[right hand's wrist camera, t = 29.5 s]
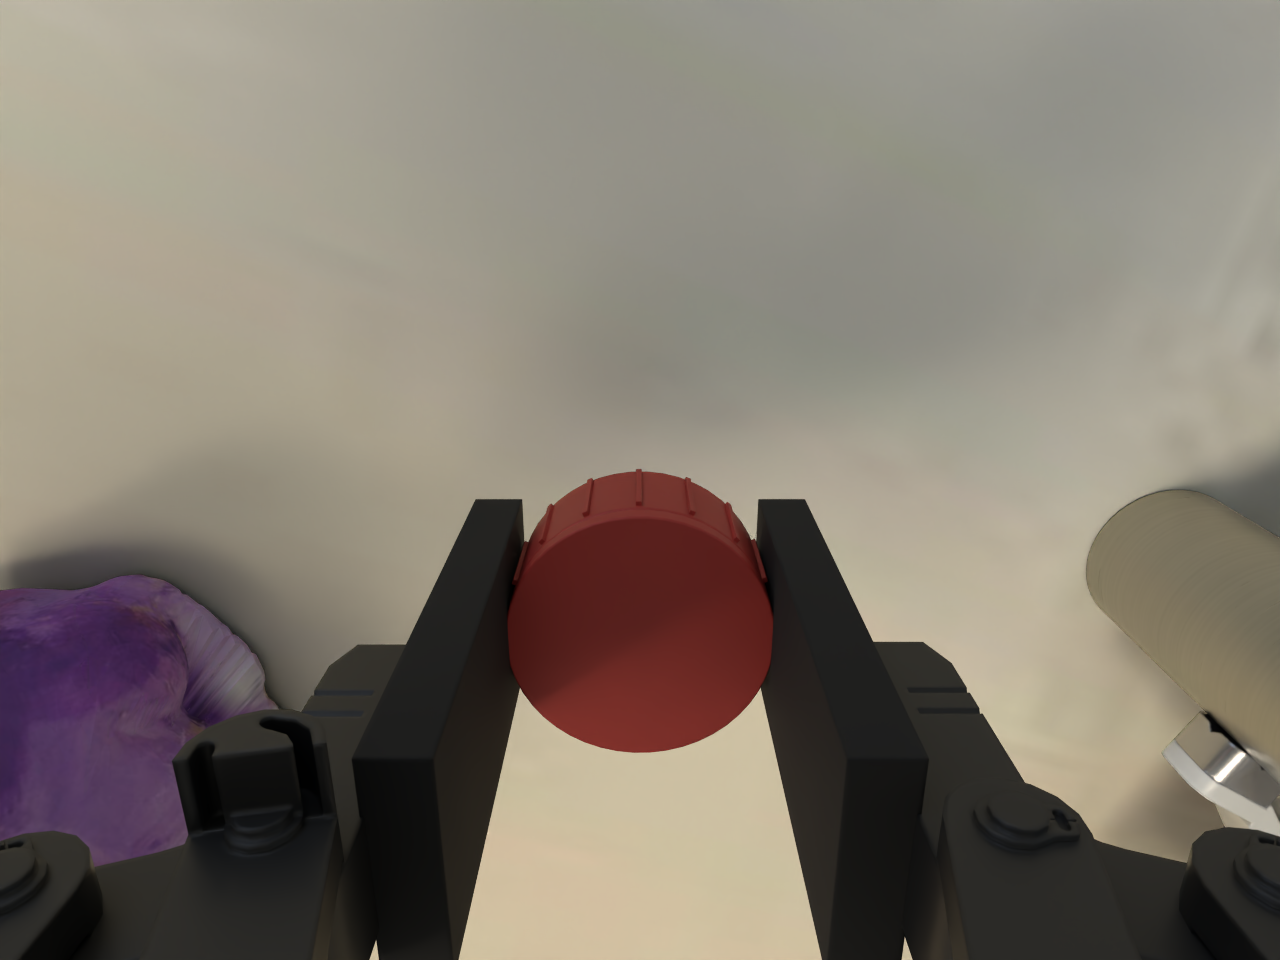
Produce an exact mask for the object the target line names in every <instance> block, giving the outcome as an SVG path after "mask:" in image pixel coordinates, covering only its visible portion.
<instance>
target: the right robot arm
mask: <svg viewBox="0 0 1280 960" xmlns="http://www.w3.org/2000/svg"><path fill="white" fill-rule="evenodd" d="M756 543H757V546H758V550H759V553H760V556H761V560H762V563H763V566H764V570H765V573H766V576H767V580H768V582H765V586H766V589H767V593H768V596H769V600H770V603H771V607H772V611H773V634H772V651H771V664H770V667H769V670H768V673H767V676H766V678H765V680H764V682H763V684H762V685H761V691H762V696H763V700H764V704H765V709H766V713H767V718H768V722H769V727H770V731H771V735H772V740H773V744H774V749H775V753H776V758H777V762H778V766H779V771H780V775H781V780H782V784H783V789H784V793H785V797H786V802H787V806H788V811H789V815H790V819H791V824H792V828H793V833H794V837H795V842H796V846H797V850H798V855H799V859H800V864H801V868H802V873H803V877H804V881H805V886H806V890H807V895H808V899H809V904H810V908H811V912H812V917H813V921H814V926H815V930H816V935H817V939H818V943H819V948H820V952H821V957H822V960H901V959H902V952H903V945H904V938H906V941H907V944H908V947H909V950H910V953H911V956H912V959H913V960H1280V836H1276V835H1273V834H1270V833H1267V832H1263V831H1260V830H1254V829H1244V828H1234V827H1225V828H1220V829H1216V830H1211V831H1206V832H1204V833H1203V834H1202V835H1201V836H1200V837H1199V838H1198V839H1197V840H1196V841H1195V842H1194V843H1193V844H1192V848H1191V851H1190V855H1189V859H1188V862H1187V863H1183V862H1179V861H1175V860H1170V859H1166V858H1161V857H1157V856H1153V855H1148V854H1144V853H1139V852H1135V851H1131V850H1126V849H1123V848H1119V847H1116V846H1112V845H1109V844H1106V843H1102V842H1099V841H1097V840H1095V839H1094V838H1093V835H1092V833H1091V832H1090V830H1089V829H1088V827H1087V826H1086V824H1085V823H1084V821H1083V820H1082V818H1081V817H1080V815H1079V814H1078V813H1077V812H1076V811H1074V810H1073V809H1072V808H1071V807H1069V806H1068V805H1067V804H1066V803H1064V802H1063V801H1062V800H1060V799H1059V798H1058V797H1056V796H1054V795H1052V794H1050V793H1048V792H1046V791H1044V790H1041V789H1039V788H1037V787H1035V786H1033V785H1031V784H1027V783H1025V782H1024V780H1023V779H1022V777H1021V776H1020V774H1019V772H1018V771H1017V769H1016V767H1015V766H1014V764H1013V762H1012V761H1011V759H1010V758H1009V756H1008V754H1007V753H1006V751H1005V749H1004V748H1003V746H1002V745H1001V743H1000V741H999V740H998V738H997V736H996V735H995V733H994V732H993V730H992V728H991V727H990V725H989V723H988V722H987V720H986V718H985V717H984V715H983V714H980V712H979V707H978V705H977V704H976V702H975V701H974V699H973V697H972V696H971V694H970V693H967V688H966V686H965V684H964V683H963V681H962V679H961V678H960V676H959V675H958V673H957V671H956V670H955V668H954V666H953V665H952V663H951V662H949V661H948V660H947V659H945V658H944V657H943V656H941V655H940V654H938V653H937V652H936V651H934V650H933V649H932V648H930V647H929V646H928V645H926V644H925V643H924V642H873V640H872V638H871V636H870V634H869V632H868V630H867V628H866V626H865V624H864V622H863V620H862V617H861V615H860V613H859V611H858V609H857V607H856V605H855V603H854V601H853V599H852V597H851V595H850V592H849V590H848V588H847V586H846V584H845V582H844V580H843V578H842V576H841V574H840V572H839V569H838V567H837V565H836V563H835V561H834V559H833V557H832V555H831V553H830V551H829V549H828V547H827V544H826V542H825V540H824V538H823V536H822V534H821V532H820V530H819V528H818V526H817V524H816V521H815V519H814V517H813V515H812V513H811V511H810V509H809V507H808V505H807V503H806V501H805V499H758V518H757V538H756ZM523 544H524V527H523V507H522V499H476V500H475V502H474V504H473V506H472V508H471V510H470V512H469V514H468V516H467V519H466V521H465V523H464V525H463V527H462V529H461V531H460V533H459V535H458V537H457V539H456V542H455V544H454V546H453V548H452V550H451V552H450V554H449V556H448V558H447V560H446V562H445V564H444V567H443V569H442V571H441V573H440V575H439V577H438V579H437V581H436V583H435V585H434V587H433V590H432V592H431V594H430V596H429V598H428V600H427V602H426V604H425V606H424V608H423V610H422V613H421V615H420V617H419V619H418V621H417V623H416V625H415V627H414V629H413V631H412V633H411V635H410V638H409V640H408V642H407V644H406V645H357V646H356V647H354V648H353V649H352V650H350V651H349V652H348V653H346V654H345V655H344V656H342V657H341V658H340V659H338V660H337V661H336V662H334V663H333V664H331V665H330V666H329V668H328V669H327V671H326V673H325V674H324V676H323V677H322V679H321V681H320V682H319V684H318V686H317V687H316V689H315V691H314V696H311V697H310V699H309V700H308V702H307V704H306V705H305V707H304V709H303V710H302V712H298V711H295V710H292V709H264V710H260V711H255V712H250V713H245V714H241V715H236V716H234V717H231V718H229V719H226V720H224V721H222V722H219V723H217V724H214V725H212V726H210V727H208V728H206V729H205V730H203V731H202V732H201V733H199V734H198V735H196V736H195V737H193V738H192V739H190V740H189V741H188V742H186V743H185V744H184V746H183V747H182V748H181V750H180V751H179V752H178V753H177V755H176V756H175V757H174V759H173V760H172V764H173V769H174V773H175V778H176V782H177V787H178V791H179V796H180V800H181V805H182V809H183V813H184V818H185V822H186V827H187V831H188V837H187V839H186V842H185V844H183V845H181V846H177V847H174V848H171V849H167V850H164V851H161V852H157V853H153V854H149V855H144V856H140V857H135V858H131V859H127V860H122V861H118V862H114V863H109V864H105V865H100V866H96V867H94V863H93V859H92V856H91V852H90V849H89V847H88V846H87V845H86V844H85V843H84V842H83V841H82V840H81V839H80V838H79V837H78V836H77V835H72V834H68V833H63V832H58V831H45V832H35V833H25V834H21V835H18V836H14V837H11V838H8V839H5V840H1V841H0V960H369V959H370V956H371V953H372V950H373V947H374V944H375V941H377V948H378V955H379V960H458V959H459V955H460V950H461V946H462V942H463V937H464V933H465V928H466V924H467V919H468V915H469V911H470V906H471V902H472V897H473V893H474V888H475V884H476V880H477V875H478V871H479V866H480V862H481V857H482V853H483V849H484V844H485V840H486V835H487V831H488V826H489V822H490V818H491V813H492V809H493V804H494V800H495V795H496V791H497V787H498V782H499V778H500V773H501V769H502V764H503V760H504V756H505V751H506V747H507V742H508V738H509V733H510V729H511V725H512V720H513V716H514V711H515V707H516V702H517V698H518V694H519V689H520V686H519V684H518V683H517V681H516V679H515V677H514V674H513V671H512V669H511V666H510V657H509V641H508V623H507V614H508V610H509V605H510V601H511V598H512V595H513V591H514V588H515V585H513V584H512V581H513V578H514V574H515V571H516V568H517V564H518V561H519V558H520V554H521V551H522V548H523Z"/></svg>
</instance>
